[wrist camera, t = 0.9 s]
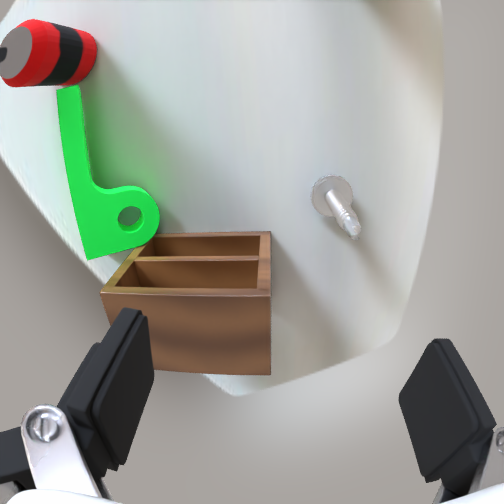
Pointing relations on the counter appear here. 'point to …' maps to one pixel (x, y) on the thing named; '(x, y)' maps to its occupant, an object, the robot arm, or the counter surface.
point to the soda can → (46, 55)
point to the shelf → (200, 300)
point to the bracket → (99, 190)
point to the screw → (336, 203)
